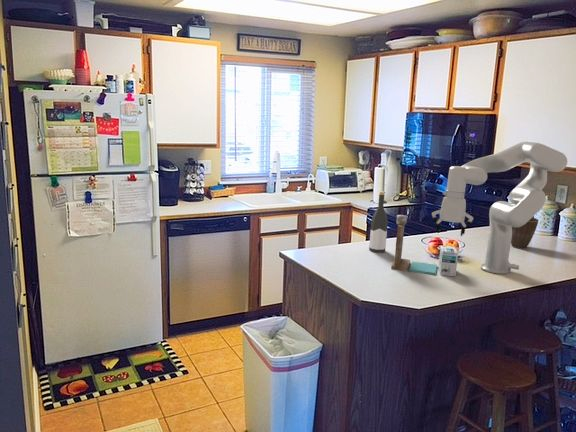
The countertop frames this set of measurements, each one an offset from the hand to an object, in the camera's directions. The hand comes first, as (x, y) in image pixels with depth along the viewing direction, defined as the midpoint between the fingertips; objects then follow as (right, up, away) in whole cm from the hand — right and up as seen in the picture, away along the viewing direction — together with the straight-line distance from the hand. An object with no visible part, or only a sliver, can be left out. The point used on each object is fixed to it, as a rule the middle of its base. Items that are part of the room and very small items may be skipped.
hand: (449, 233), depth 216 cm
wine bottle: (-26, -10, +33) cm, 43 cm away
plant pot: (+55, -9, +53) cm, 76 cm away
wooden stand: (-19, -15, +10) cm, 26 cm away
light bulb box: (0, -17, +4) cm, 18 cm away
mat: (-10, -16, +7) cm, 20 cm away
